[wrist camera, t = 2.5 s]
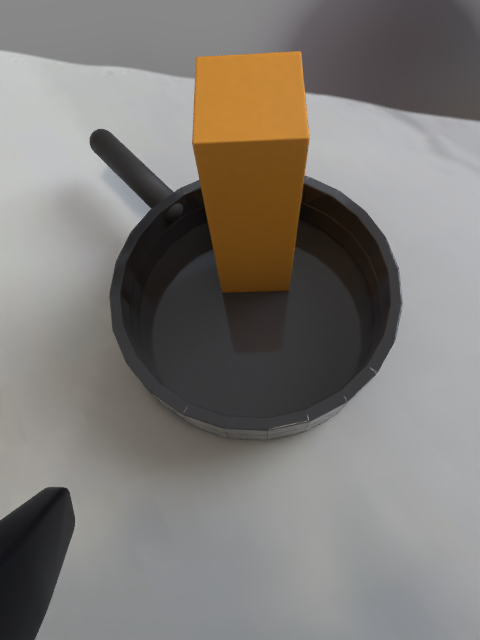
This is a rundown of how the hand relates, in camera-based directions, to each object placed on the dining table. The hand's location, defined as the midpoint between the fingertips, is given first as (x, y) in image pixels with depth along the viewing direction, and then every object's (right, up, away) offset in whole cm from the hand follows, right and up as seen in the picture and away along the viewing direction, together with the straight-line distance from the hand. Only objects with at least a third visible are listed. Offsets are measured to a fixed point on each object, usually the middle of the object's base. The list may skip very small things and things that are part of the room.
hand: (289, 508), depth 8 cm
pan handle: (-7, +12, +18) cm, 23 cm away
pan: (0, +4, +16) cm, 17 cm away
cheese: (0, +7, +17) cm, 19 cm away
